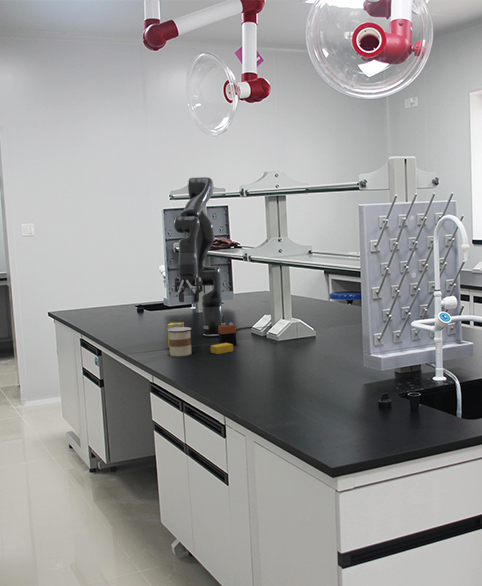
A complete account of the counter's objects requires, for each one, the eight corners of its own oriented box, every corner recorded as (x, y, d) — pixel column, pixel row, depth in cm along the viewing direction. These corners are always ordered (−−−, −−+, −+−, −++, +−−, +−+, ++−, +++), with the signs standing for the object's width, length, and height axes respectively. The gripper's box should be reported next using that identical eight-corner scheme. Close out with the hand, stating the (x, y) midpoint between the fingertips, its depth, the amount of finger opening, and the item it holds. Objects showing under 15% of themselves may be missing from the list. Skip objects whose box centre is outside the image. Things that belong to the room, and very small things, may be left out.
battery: (218, 345, 311) (217, 323, 310) (233, 343, 314) (232, 321, 313) (222, 347, 307) (221, 324, 306) (236, 345, 310) (235, 322, 309)
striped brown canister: (184, 350, 301) (183, 326, 300) (197, 353, 294) (195, 328, 293) (164, 354, 295) (163, 329, 294) (176, 357, 288) (175, 332, 286)
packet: (226, 349, 301) (226, 342, 301) (233, 351, 297) (233, 344, 297) (210, 352, 296) (210, 345, 295) (217, 354, 292) (217, 347, 292)
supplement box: (185, 346, 311) (184, 322, 310) (181, 349, 305) (180, 324, 304) (172, 346, 311) (170, 322, 310) (168, 349, 306) (166, 324, 304)
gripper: (206, 263, 294) (207, 302, 294) (182, 264, 302) (183, 301, 303) (193, 263, 288) (194, 302, 288) (169, 264, 296) (170, 302, 297)
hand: (188, 302), depth 295 cm, fingers open, 8 cm apart
